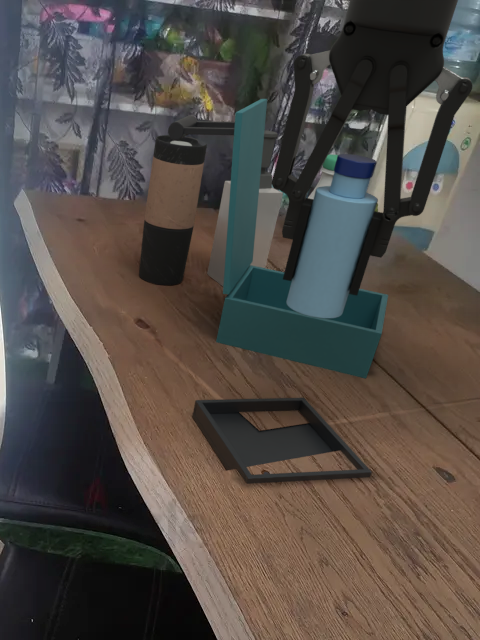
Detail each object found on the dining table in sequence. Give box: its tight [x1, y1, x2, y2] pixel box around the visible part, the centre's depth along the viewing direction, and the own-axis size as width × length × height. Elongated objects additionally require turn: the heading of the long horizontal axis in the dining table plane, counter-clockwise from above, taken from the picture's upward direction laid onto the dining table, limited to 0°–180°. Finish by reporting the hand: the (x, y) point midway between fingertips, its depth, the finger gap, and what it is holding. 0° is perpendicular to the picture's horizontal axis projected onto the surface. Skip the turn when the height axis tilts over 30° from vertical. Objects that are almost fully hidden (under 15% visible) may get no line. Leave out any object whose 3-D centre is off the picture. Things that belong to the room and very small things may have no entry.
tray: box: [192, 397, 373, 485], centre depth 77 cm, size 15×13×2 cm
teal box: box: [215, 265, 389, 379], centre depth 99 cm, size 20×16×7 cm
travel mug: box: [138, 134, 208, 286], centre depth 112 cm, size 8×8×20 cm
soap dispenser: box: [206, 129, 284, 287], centre depth 114 cm, size 6×9×22 cm
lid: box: [167, 98, 268, 295], centre depth 95 cm, size 20×16×10 cm
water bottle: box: [286, 153, 379, 318], centre depth 64 cm, size 5×5×13 cm
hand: (321, 282), depth 67 cm, fingers closed on water bottle, 5 cm apart
